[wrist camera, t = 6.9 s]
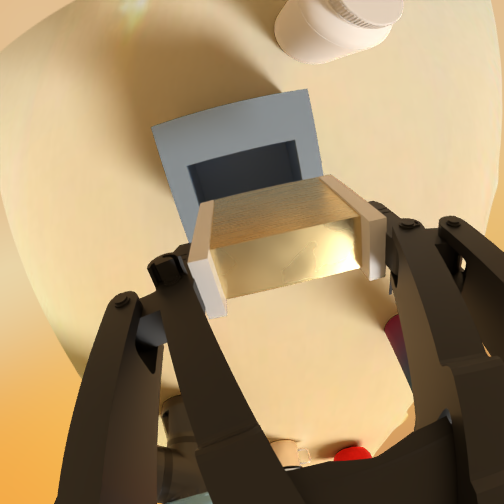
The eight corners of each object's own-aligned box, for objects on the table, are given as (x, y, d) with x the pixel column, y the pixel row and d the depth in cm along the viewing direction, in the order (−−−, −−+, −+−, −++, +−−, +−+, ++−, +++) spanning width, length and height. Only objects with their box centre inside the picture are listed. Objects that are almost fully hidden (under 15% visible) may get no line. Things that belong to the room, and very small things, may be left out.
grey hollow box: (203, 218, 34) (196, 261, 25) (173, 120, 28) (151, 127, 20) (303, 194, 34) (330, 229, 25) (282, 93, 28) (307, 88, 19)
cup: (386, 311, 44) (427, 379, 31) (417, 307, 45) (460, 368, 32) (375, 340, 47) (408, 406, 34) (405, 335, 48) (440, 395, 35)
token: (225, 237, 17) (225, 299, 12) (214, 199, 16) (208, 250, 11) (323, 215, 17) (362, 266, 12) (318, 176, 16) (361, 215, 11)
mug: (262, 452, 68) (266, 479, 60) (263, 440, 63) (267, 470, 55) (304, 447, 69) (310, 474, 61) (309, 435, 64) (316, 463, 56)
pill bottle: (351, 60, 26) (431, 43, 13) (284, 70, 27) (331, 45, 13) (332, 1, 22) (398, -47, 9) (264, 8, 23) (293, -54, 10)
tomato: (345, 441, 70) (356, 478, 58) (376, 438, 73) (388, 472, 61) (317, 460, 76) (325, 494, 64) (348, 458, 80) (357, 489, 68)
